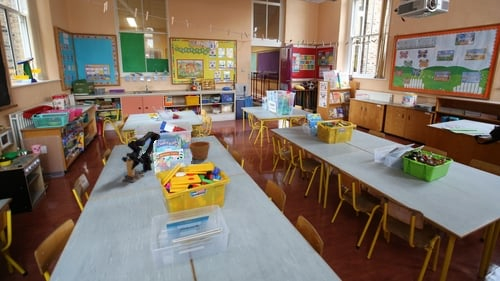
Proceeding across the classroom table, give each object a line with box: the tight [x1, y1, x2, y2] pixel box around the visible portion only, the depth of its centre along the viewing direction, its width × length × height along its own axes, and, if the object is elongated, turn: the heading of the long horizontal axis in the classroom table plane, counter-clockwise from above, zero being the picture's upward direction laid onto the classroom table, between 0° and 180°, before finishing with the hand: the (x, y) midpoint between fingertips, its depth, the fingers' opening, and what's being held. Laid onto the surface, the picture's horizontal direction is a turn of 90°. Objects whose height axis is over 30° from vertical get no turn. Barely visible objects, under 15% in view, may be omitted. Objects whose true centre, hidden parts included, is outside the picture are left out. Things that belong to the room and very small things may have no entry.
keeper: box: [121, 172, 145, 184], centre depth 240 cm, size 14×11×4 cm
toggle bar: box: [125, 157, 136, 176], centre depth 236 cm, size 4×4×16 cm
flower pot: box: [188, 141, 211, 161], centre depth 290 cm, size 21×21×15 cm
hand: (129, 169), depth 235 cm, fingers closed on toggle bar, 4 cm apart
